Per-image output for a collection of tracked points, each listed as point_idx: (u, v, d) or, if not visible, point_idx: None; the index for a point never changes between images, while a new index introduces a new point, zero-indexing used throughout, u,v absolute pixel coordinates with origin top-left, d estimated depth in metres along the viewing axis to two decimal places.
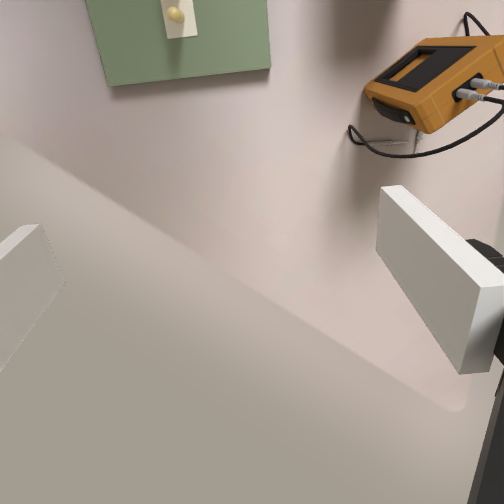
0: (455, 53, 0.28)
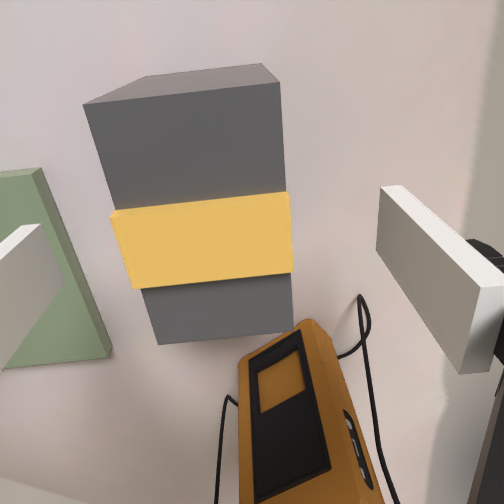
0: (312, 446, 0.20)
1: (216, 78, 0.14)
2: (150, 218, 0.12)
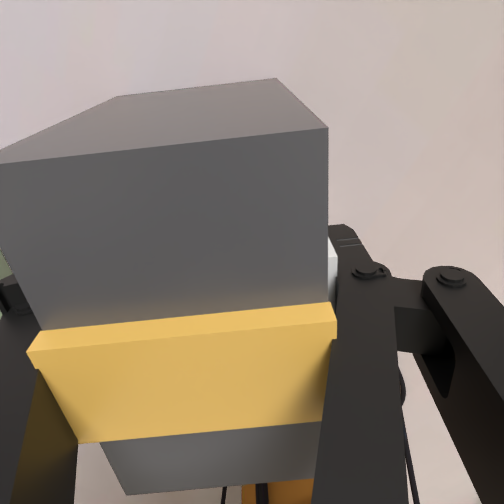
0: None
1: (212, 107, 0.09)
2: (97, 352, 0.07)
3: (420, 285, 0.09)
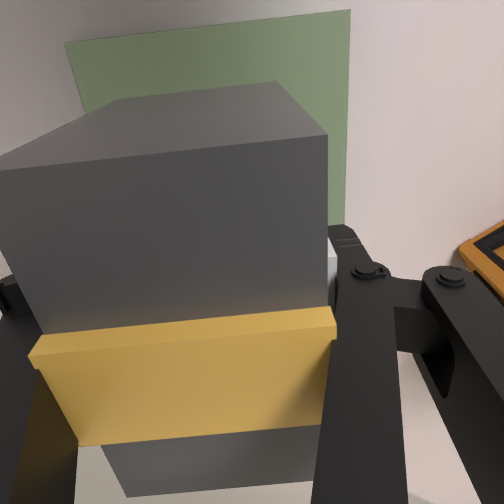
0: None
1: (213, 112, 0.09)
2: (98, 356, 0.07)
3: (420, 285, 0.09)
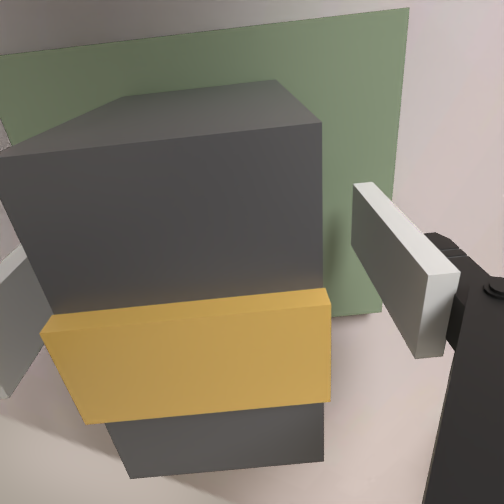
0: None
1: (214, 106, 0.09)
2: (106, 333, 0.08)
3: None
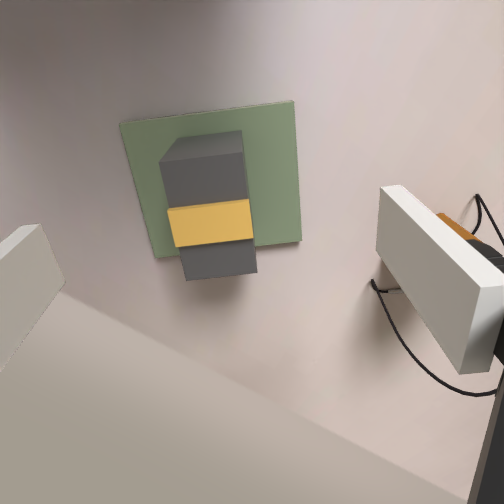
0: None
1: (216, 145, 0.29)
2: (185, 211, 0.27)
3: None
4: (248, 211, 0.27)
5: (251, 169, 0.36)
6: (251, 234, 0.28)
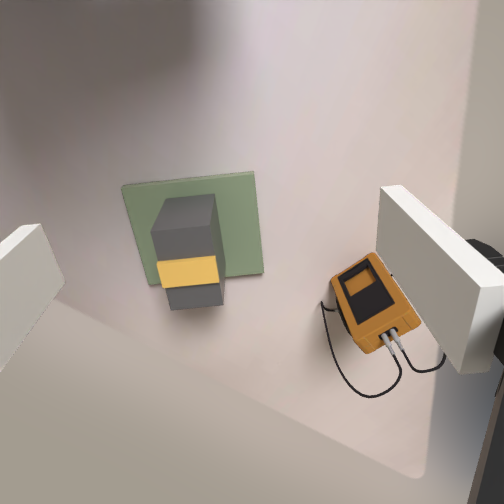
0: (384, 298, 0.43)
1: (192, 213, 0.40)
2: (169, 264, 0.38)
3: None
4: (214, 264, 0.38)
5: (223, 221, 0.46)
6: (217, 280, 0.39)
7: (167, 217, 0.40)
